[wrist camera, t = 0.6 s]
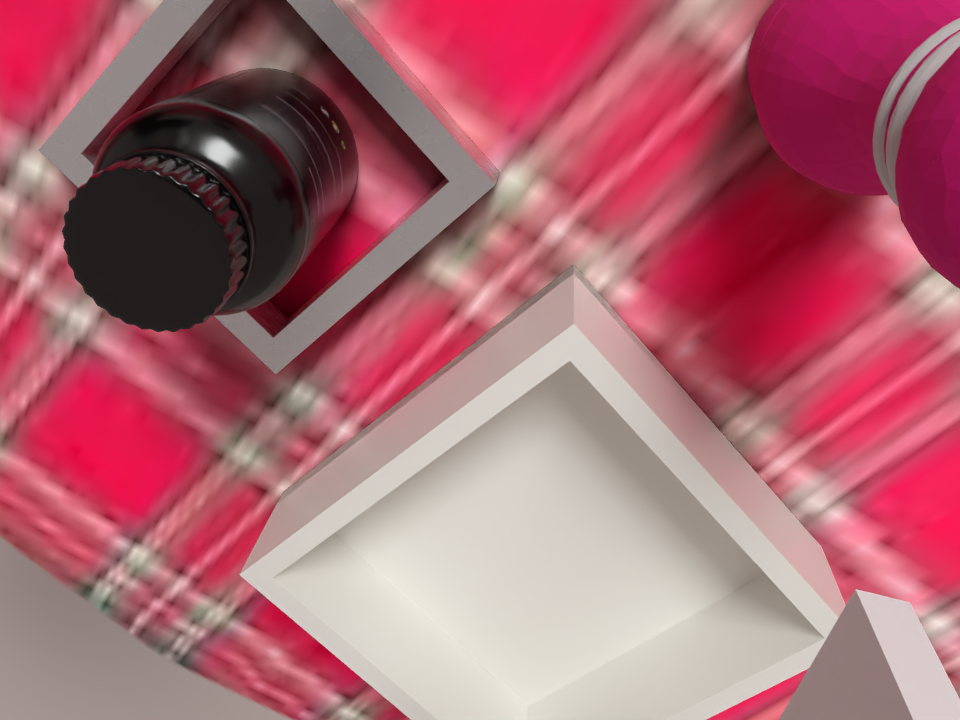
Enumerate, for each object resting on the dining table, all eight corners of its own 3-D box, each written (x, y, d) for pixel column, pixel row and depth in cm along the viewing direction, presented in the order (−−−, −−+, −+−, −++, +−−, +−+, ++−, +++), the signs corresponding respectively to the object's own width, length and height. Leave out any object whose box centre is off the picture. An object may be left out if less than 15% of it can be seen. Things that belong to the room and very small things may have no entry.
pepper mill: (821, 199, 32) (1131, 516, 14) (690, 66, 31) (853, 237, 13) (990, 49, 29) (1636, 212, 12) (855, -106, 28) (1363, -197, 10)
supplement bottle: (258, 264, 36) (123, 401, 25) (161, 117, 33) (-35, 199, 23) (396, 192, 34) (314, 307, 23) (303, 30, 31) (163, 74, 21)
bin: (283, 492, 41) (239, 574, 35) (573, 264, 34) (573, 323, 29) (526, 710, 46) (520, 812, 40) (821, 546, 39) (861, 642, 34)
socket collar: (66, 139, 34) (38, 150, 32) (265, -96, 30) (245, -99, 28) (289, 353, 37) (275, 374, 36) (499, 171, 33) (495, 185, 31)
